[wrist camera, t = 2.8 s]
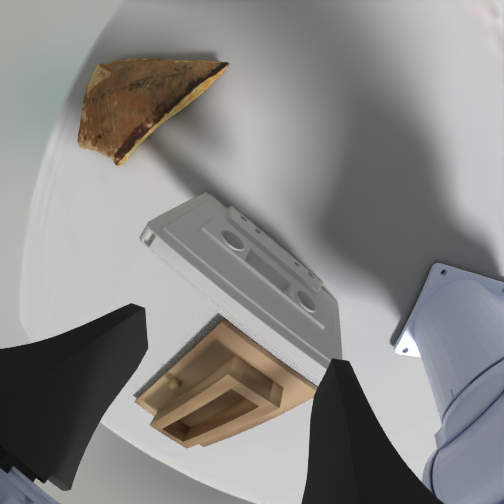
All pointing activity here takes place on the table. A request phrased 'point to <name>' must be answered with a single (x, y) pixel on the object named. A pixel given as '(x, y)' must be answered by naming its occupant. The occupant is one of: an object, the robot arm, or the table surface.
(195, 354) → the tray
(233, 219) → the cassette
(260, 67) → the table surface
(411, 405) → the table surface
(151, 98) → the shard
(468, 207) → the table surface
